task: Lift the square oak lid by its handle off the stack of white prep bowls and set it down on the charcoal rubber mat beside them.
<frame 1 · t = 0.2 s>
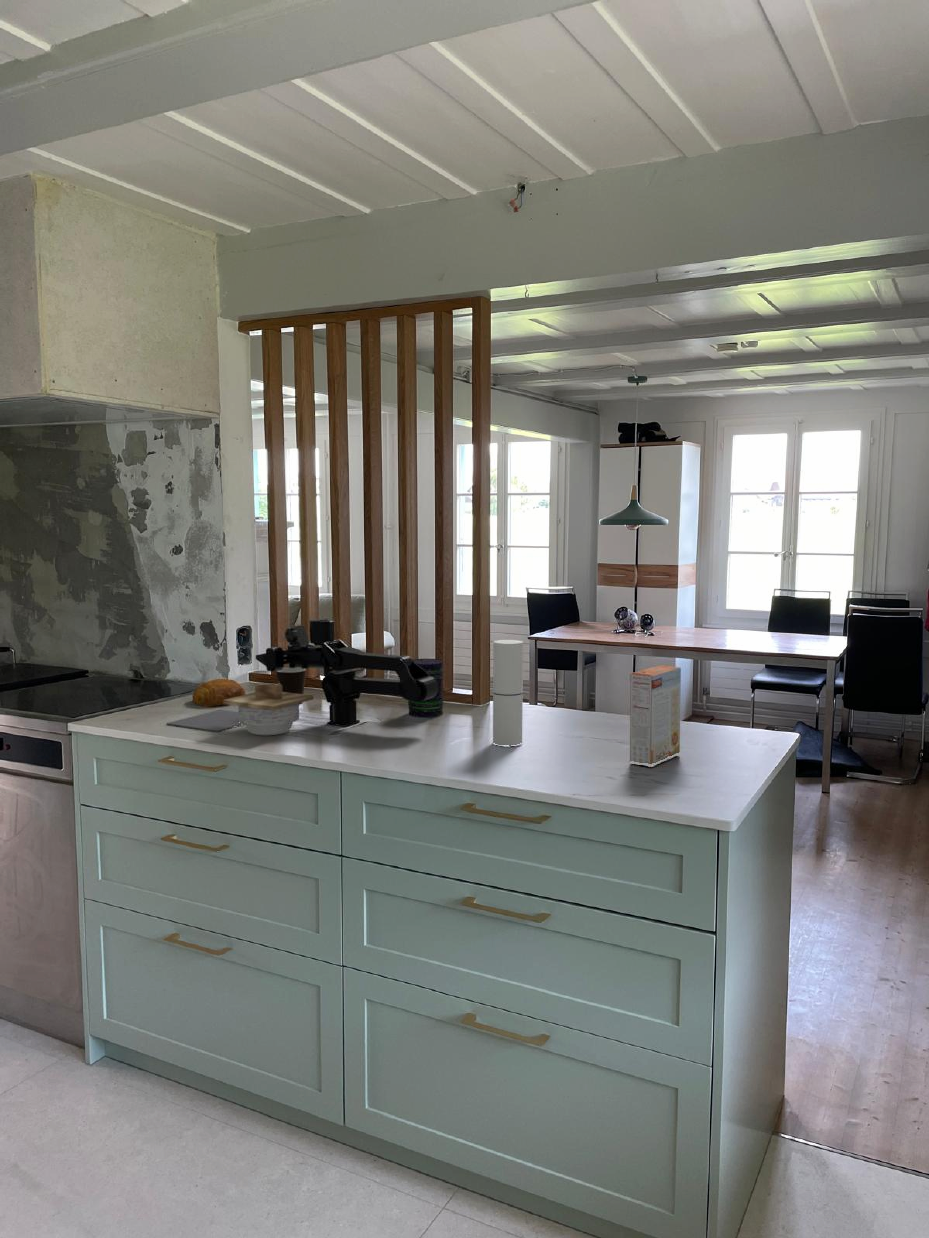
hand: (266, 655, 257), 17 cm above the counter, tool horizontal, fingers open, 9 cm apart
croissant: (218, 703, 277), on the counter
coffee mug: (292, 702, 276), on the counter
paper bowls: (269, 732, 238), on the counter, touching oak lid
cylindrical container: (507, 744, 226), on the counter
oak lid: (268, 701, 237), point 8 cm above the counter, touching paper bowls
storage jar: (425, 714, 260), on the counter
mat: (218, 721, 250), on the counter
cracker box: (654, 761, 211), on the counter
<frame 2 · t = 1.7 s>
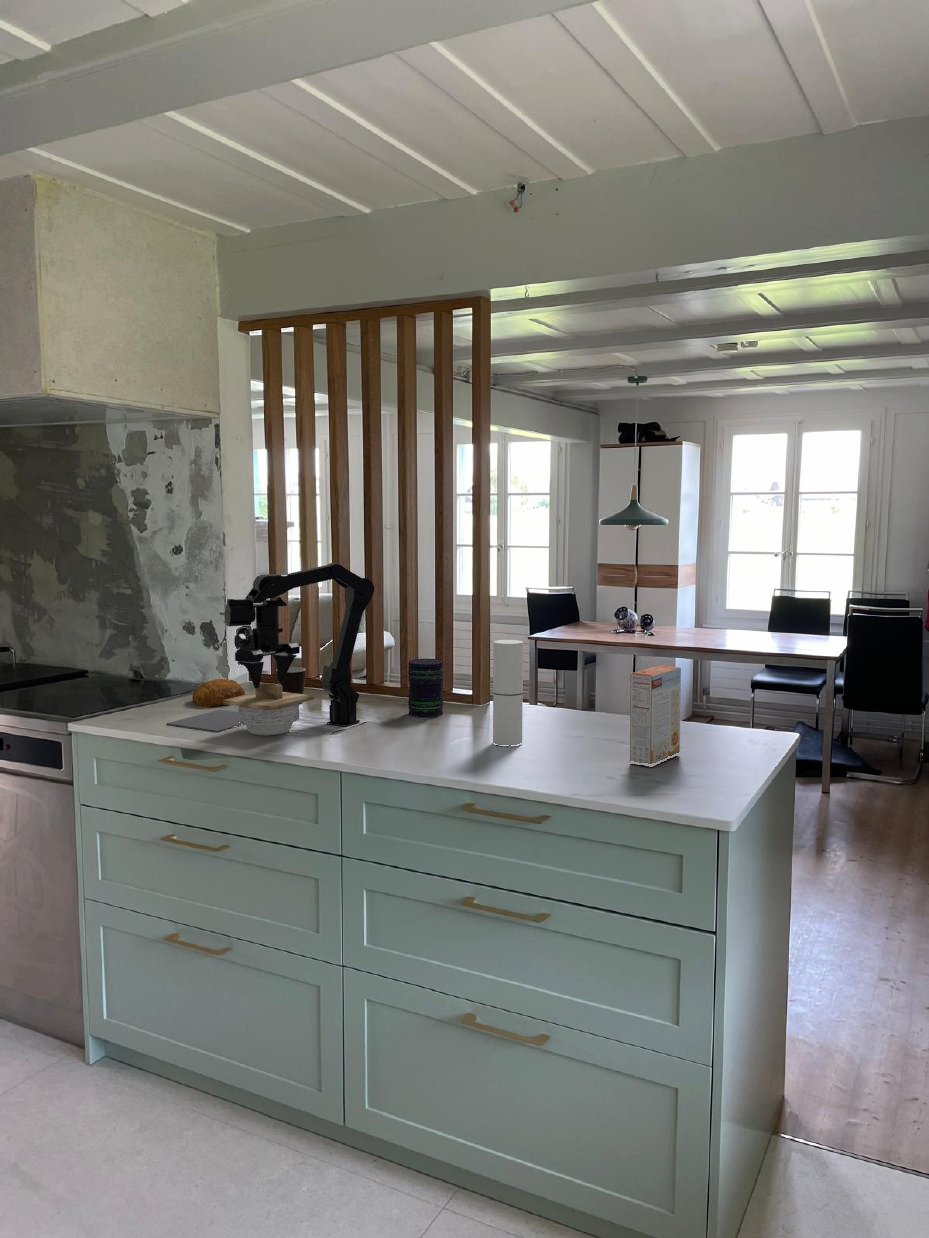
hand: (268, 685, 237), 12 cm above the counter, tool pointing down, fingers open, 9 cm apart
nothing on the counter moved.
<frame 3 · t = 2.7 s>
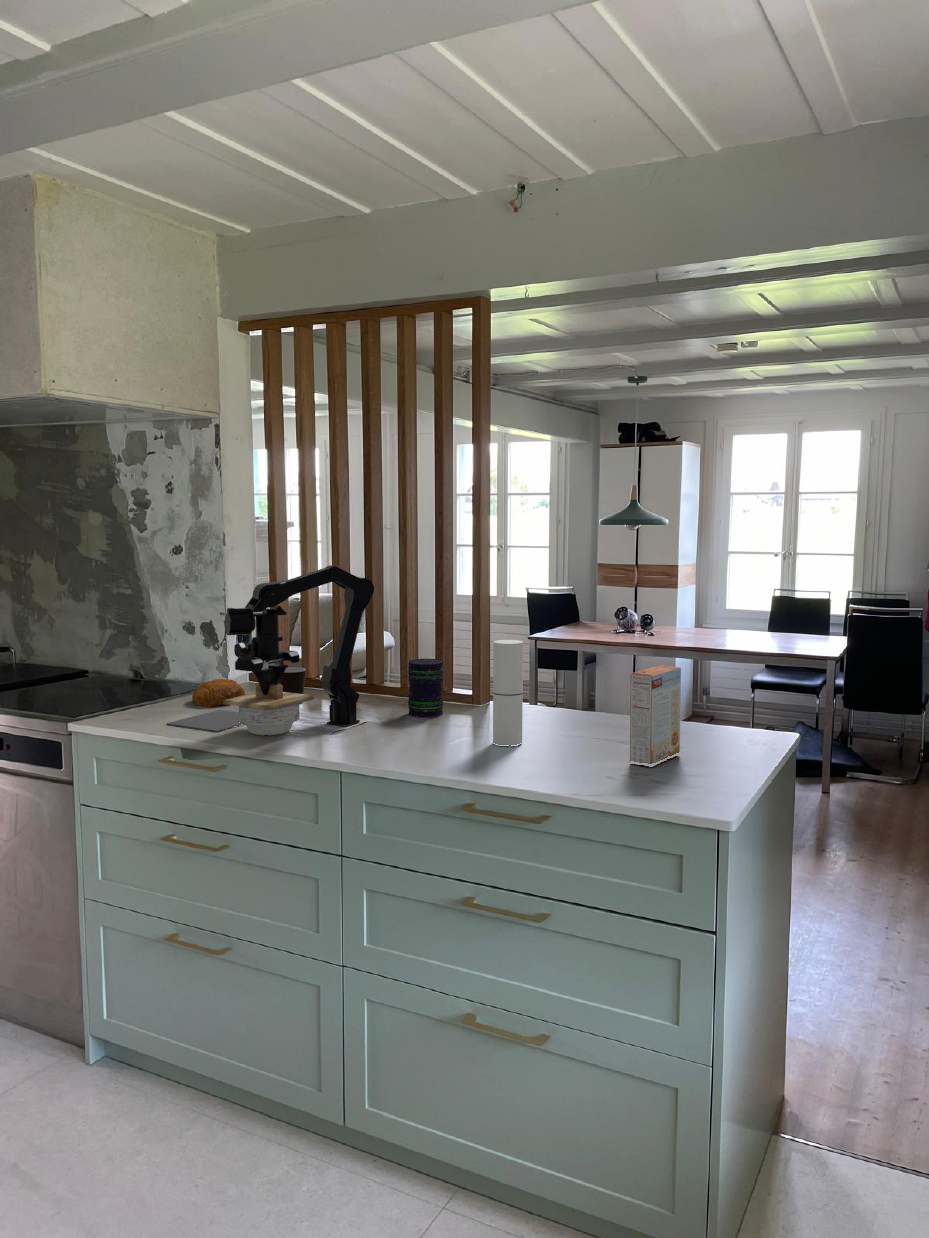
hand: (268, 693, 237), 10 cm above the counter, tool pointing down, fingers closed on oak lid, 2 cm apart
oak lid: (269, 701, 237), point 8 cm above the counter, touching gripper, paper bowls
everything else where it was.
when the fingers open (4 cm above the counter, at t = 6.6 s): oak lid stays where it is, resting on mat.
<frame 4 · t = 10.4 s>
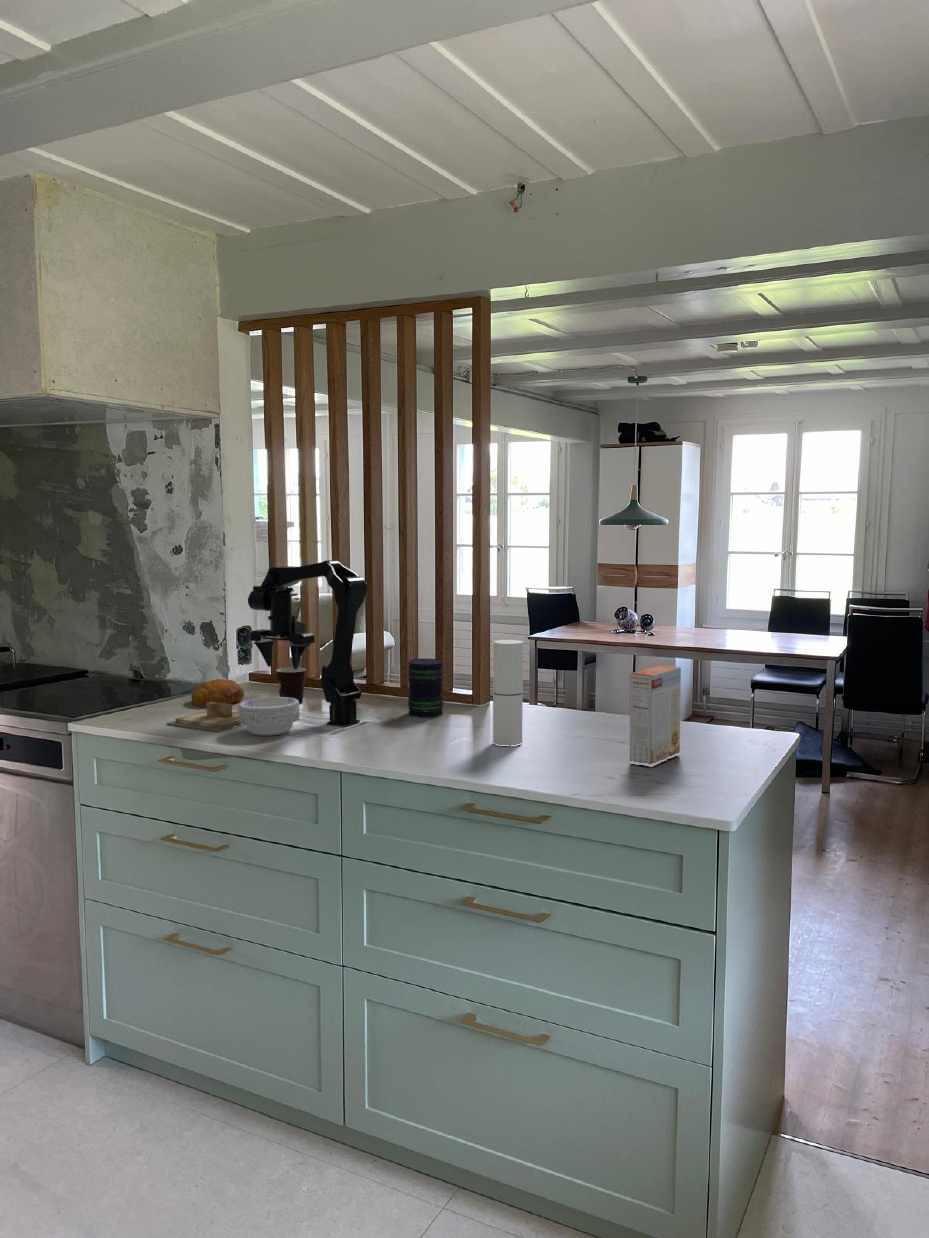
hand: (282, 667, 258), 13 cm above the counter, tool pointing down, fingers open, 9 cm apart
paper bowls: (269, 732, 238), on the counter
oak lid: (219, 719, 250), resting on mat
everything else where it was.
at the end: oak lid inside the target area on the mat (0.2 cm from its centre), point 0.4 cm above the mat's base; oak lid touching mat; paper bowls moved 0.3 cm from its start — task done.
